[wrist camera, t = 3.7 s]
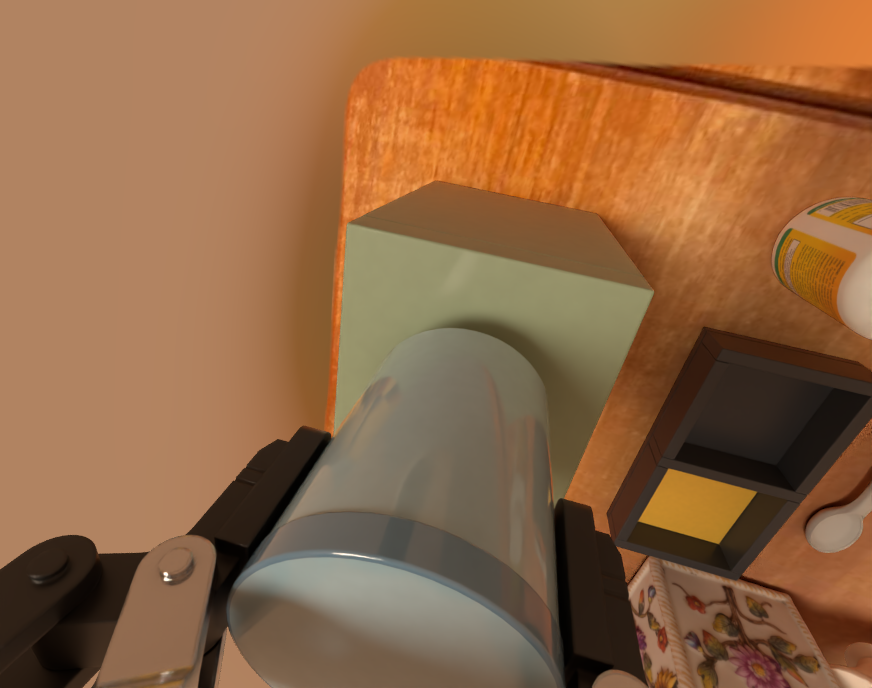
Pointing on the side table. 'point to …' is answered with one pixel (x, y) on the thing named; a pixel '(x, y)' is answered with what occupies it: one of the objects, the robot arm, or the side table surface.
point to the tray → (737, 450)
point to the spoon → (839, 524)
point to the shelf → (495, 297)
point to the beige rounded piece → (855, 667)
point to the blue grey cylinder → (417, 535)
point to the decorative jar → (720, 632)
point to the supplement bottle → (830, 260)
